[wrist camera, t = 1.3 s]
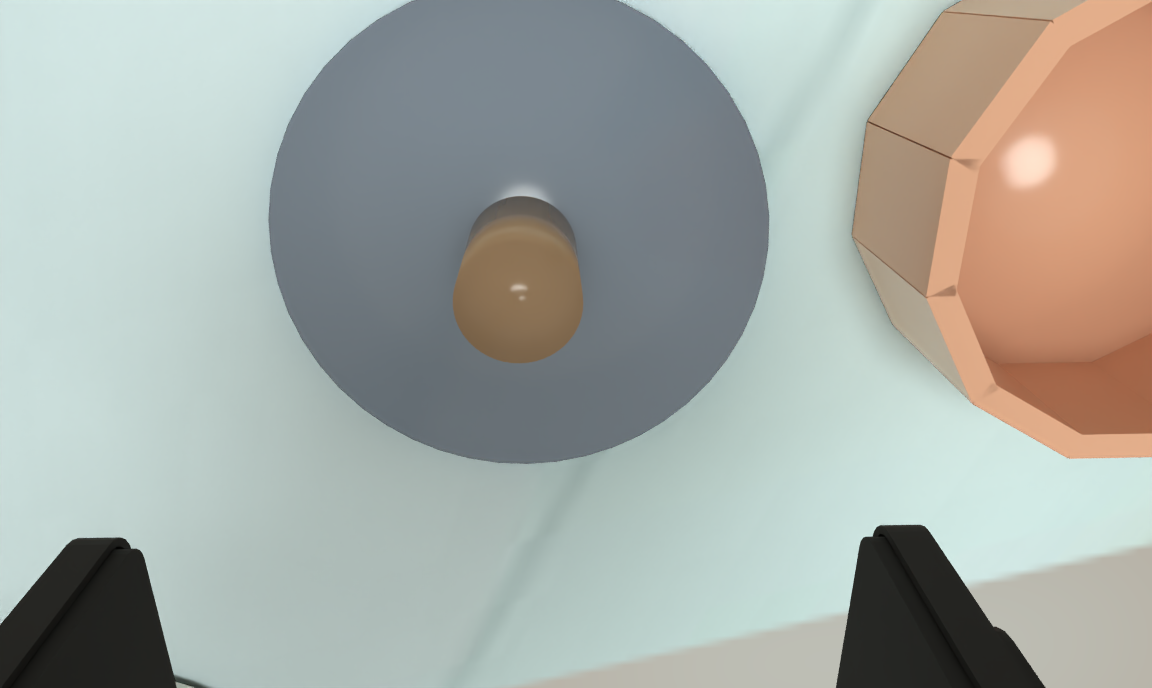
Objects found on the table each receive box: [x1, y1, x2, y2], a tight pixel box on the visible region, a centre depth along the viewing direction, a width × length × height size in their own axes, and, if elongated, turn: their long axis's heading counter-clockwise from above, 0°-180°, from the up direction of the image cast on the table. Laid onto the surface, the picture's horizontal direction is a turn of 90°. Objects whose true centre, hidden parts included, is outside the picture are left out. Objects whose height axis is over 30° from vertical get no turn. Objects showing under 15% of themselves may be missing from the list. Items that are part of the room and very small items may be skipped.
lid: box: [269, 0, 769, 464], centre depth 26 cm, size 16×16×6 cm
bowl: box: [852, 0, 1152, 459], centre depth 25 cm, size 14×14×6 cm
